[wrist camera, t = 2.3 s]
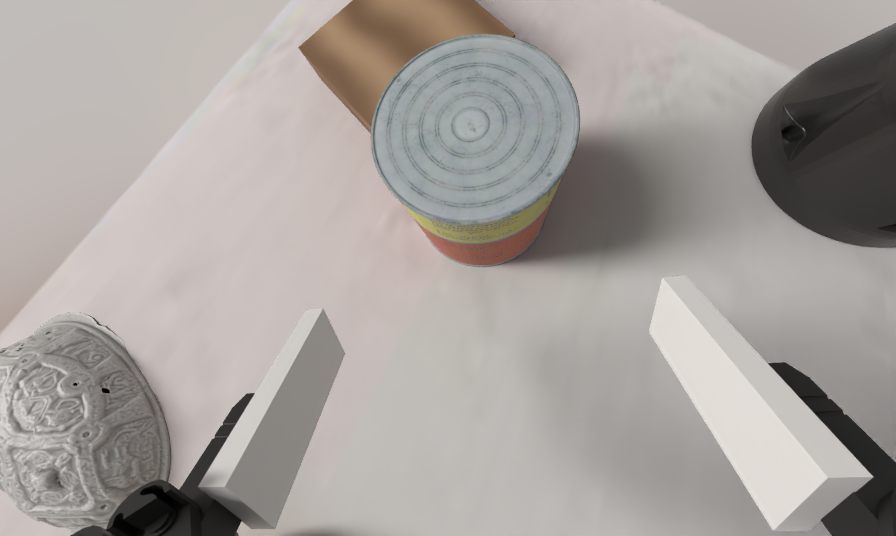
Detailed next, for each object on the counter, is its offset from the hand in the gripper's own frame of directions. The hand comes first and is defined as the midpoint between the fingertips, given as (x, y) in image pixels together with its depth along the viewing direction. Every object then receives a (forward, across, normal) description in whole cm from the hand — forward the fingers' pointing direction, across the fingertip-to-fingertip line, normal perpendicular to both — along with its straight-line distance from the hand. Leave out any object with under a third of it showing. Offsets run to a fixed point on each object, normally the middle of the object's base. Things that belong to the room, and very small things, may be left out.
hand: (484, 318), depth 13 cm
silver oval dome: (+7, -40, -15) cm, 43 cm away
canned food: (+18, 0, -3) cm, 18 cm away
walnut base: (+28, -5, +8) cm, 29 cm away
